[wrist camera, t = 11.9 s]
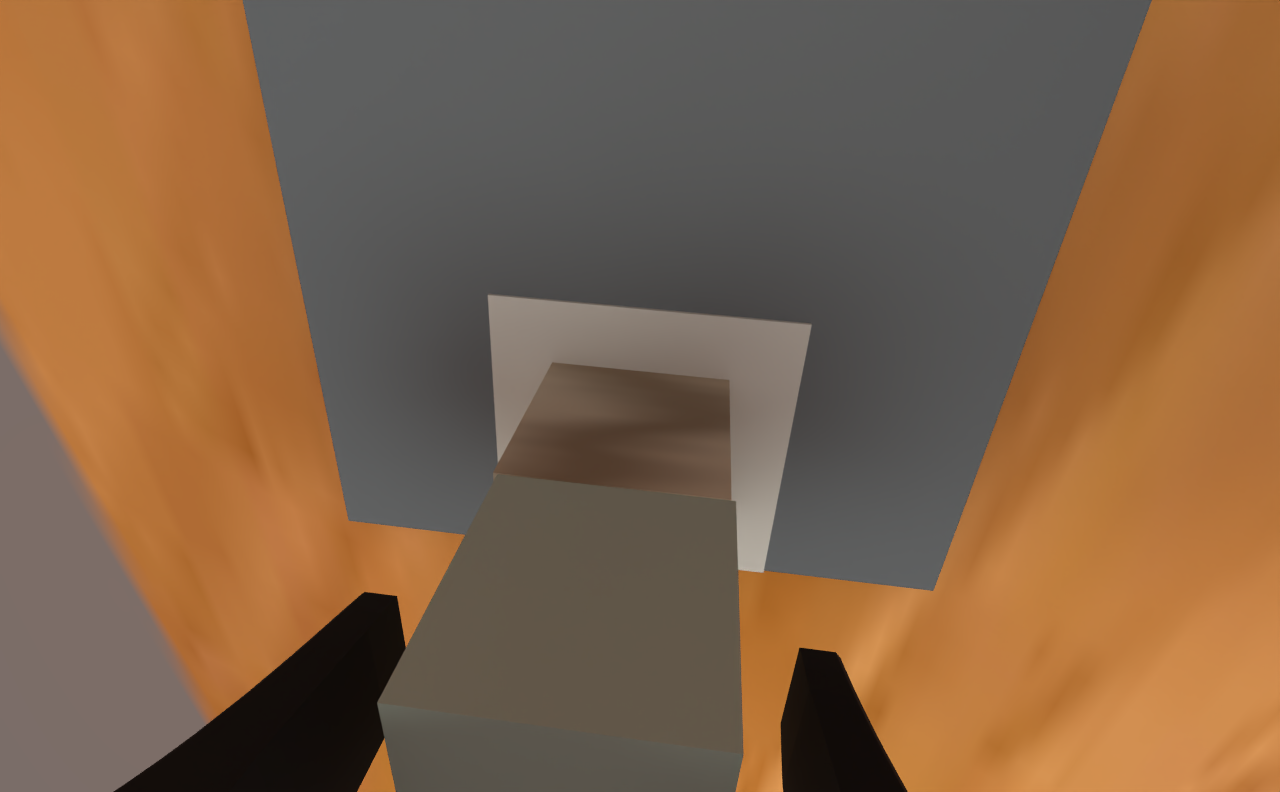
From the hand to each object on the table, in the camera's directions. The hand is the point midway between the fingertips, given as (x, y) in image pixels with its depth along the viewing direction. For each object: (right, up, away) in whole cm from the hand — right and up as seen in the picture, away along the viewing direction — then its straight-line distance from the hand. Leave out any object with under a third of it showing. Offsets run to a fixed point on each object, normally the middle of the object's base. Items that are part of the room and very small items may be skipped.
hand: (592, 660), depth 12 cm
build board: (+1, +7, +5) cm, 9 cm away
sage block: (0, +1, +2) cm, 2 cm away
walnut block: (+1, +3, +6) cm, 7 cm away
